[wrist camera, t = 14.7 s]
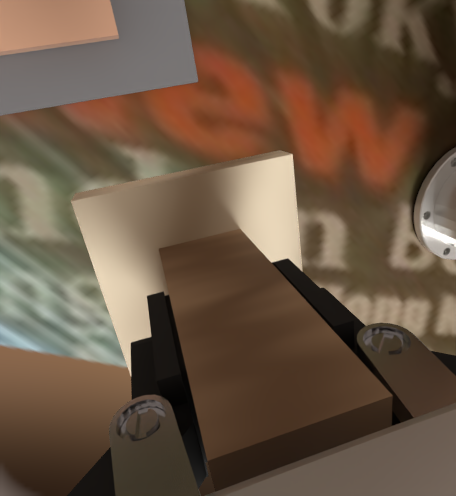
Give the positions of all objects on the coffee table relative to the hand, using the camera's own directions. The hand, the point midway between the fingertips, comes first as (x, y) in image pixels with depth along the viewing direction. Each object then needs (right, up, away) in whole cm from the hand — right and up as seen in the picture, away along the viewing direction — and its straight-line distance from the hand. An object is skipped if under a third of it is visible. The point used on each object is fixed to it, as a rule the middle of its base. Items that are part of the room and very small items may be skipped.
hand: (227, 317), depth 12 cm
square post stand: (-1, +2, +4) cm, 4 cm away
